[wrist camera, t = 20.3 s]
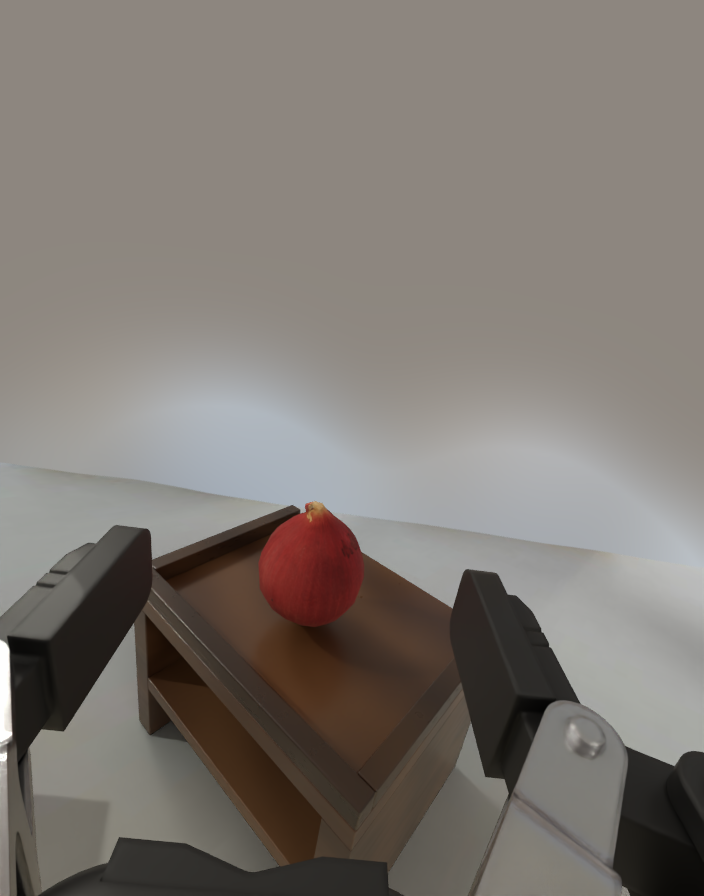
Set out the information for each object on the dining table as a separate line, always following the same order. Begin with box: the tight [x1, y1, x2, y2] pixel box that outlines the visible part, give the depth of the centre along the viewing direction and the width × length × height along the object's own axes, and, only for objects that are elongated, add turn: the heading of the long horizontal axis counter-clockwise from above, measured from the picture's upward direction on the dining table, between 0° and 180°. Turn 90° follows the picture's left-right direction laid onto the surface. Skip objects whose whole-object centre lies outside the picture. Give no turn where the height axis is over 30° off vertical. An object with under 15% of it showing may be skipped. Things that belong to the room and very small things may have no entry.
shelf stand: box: [134, 505, 471, 872], centre depth 28 cm, size 14×18×13 cm
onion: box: [258, 501, 364, 627], centre depth 24 cm, size 6×6×8 cm
